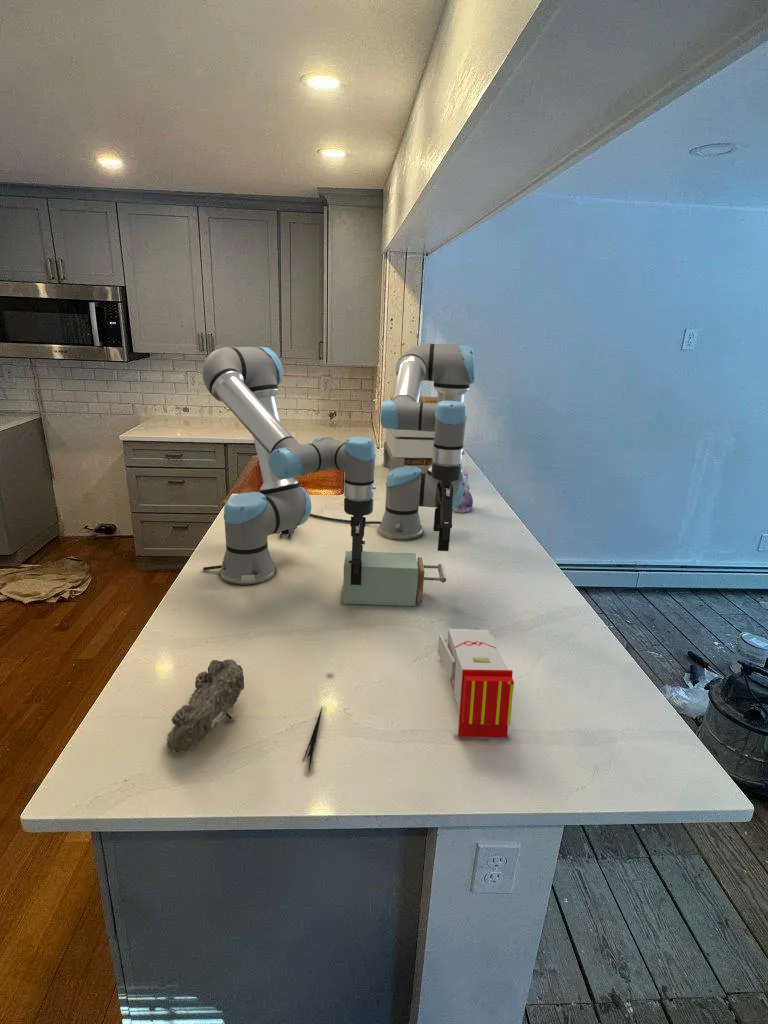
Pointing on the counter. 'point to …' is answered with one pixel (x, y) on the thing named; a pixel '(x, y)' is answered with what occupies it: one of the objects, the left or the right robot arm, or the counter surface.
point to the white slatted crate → (409, 445)
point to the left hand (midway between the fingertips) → (356, 575)
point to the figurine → (465, 498)
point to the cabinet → (382, 579)
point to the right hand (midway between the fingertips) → (440, 540)
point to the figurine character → (287, 532)
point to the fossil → (206, 705)
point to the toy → (478, 682)
